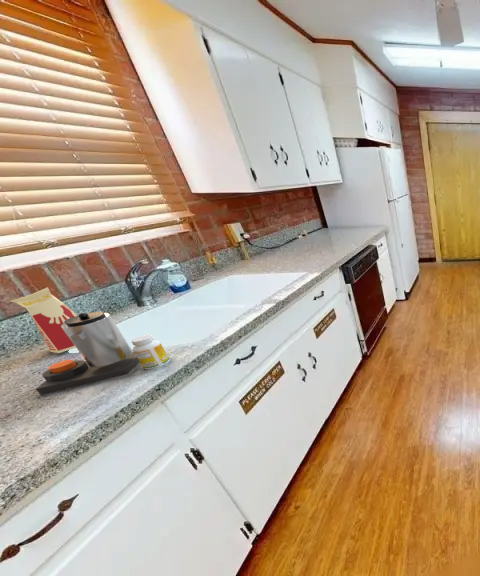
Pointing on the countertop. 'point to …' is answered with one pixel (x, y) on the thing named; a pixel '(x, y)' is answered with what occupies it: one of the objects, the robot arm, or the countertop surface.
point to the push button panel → (85, 374)
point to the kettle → (97, 338)
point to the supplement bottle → (149, 352)
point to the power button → (62, 366)
